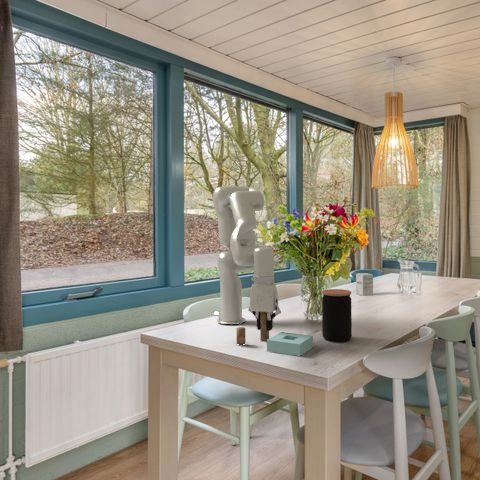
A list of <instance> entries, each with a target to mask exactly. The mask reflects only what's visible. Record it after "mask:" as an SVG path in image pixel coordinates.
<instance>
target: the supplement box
mask: <svg viewBox="0 0 480 480" xmlns="http://www.w3.org/2000/svg"><path fill="white" fill-rule="evenodd" d="M355 286H356V287H355V294H356V295H359V296H362V297H367V296H369V295H370V296H373V295H374V274H372V273H367V272H364V273H362V272H360V273H359V272H358V273H356V274H355Z"/></svg>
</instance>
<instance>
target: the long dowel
mask: <svg viewBox="0 0 480 480" xmlns="http://www.w3.org/2000/svg"><path fill="white" fill-rule="evenodd" d="M267 320H268V316H267V312H260V330H259V331H260V334H259V335H260V341H261V340H262V341H261V342H263V341H267V339H269V338H270V331H267V325H266V321H267Z"/></svg>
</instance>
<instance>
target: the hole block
mask: <svg viewBox="0 0 480 480" xmlns="http://www.w3.org/2000/svg"><path fill="white" fill-rule="evenodd" d="M312 347H314V335H311V334H302V333H294V332H293V333H292V332H285V331H281V332H278V333H277V334H275V335H273V336H271V337H269V339H267V342H266V352H268V351H271V352H270V353H274V352H277V353H276V354H281V353H282V355H287V354H288V355H290V356H294V355H296V357H301V356H302V355H304V354H306V351H307V352H309V351H310V350H312ZM309 349H310V350H309ZM288 355H287V356H288ZM300 355H301V356H300Z"/></svg>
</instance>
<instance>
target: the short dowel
mask: <svg viewBox="0 0 480 480" xmlns="http://www.w3.org/2000/svg"><path fill="white" fill-rule="evenodd" d="M235 330H236V345H237V344H239V345H243V344H245V343H247V342H246V327H243V326H241V327H236V329H235Z"/></svg>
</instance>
